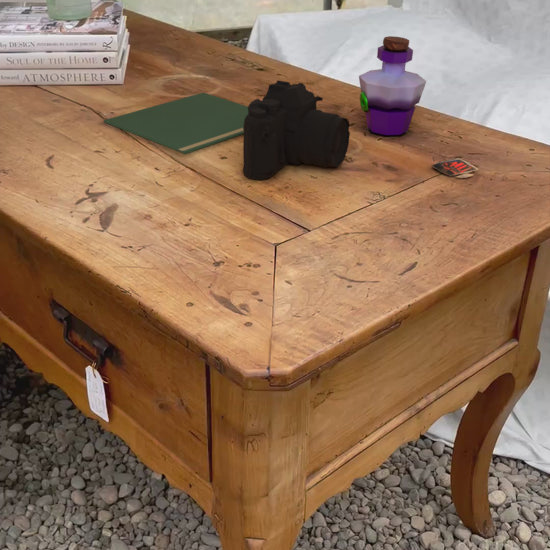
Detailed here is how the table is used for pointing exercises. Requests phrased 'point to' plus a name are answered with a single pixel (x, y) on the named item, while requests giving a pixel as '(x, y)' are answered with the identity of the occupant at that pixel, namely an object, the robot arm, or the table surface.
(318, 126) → the film camera
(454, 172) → the matchbox
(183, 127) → the book
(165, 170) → the table surface
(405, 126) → the potion bottle
